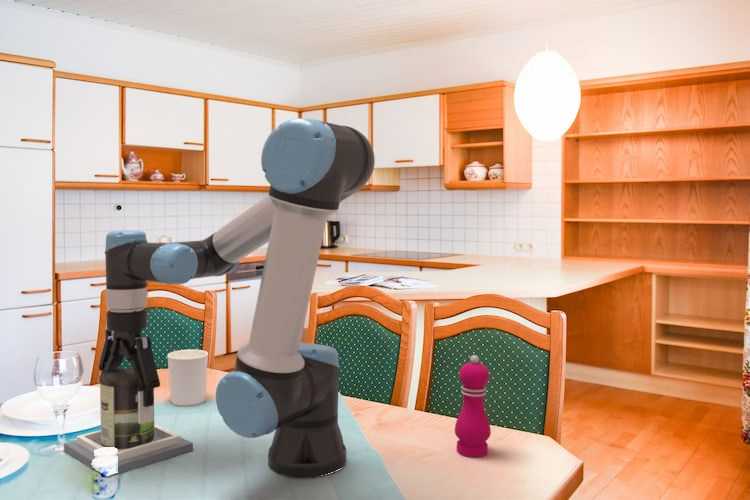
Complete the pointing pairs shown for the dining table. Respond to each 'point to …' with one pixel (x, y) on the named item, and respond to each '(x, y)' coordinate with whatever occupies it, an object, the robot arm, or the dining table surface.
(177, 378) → the candle holder
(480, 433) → the pepper mill
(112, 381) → the coffee can
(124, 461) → the grey square tray
